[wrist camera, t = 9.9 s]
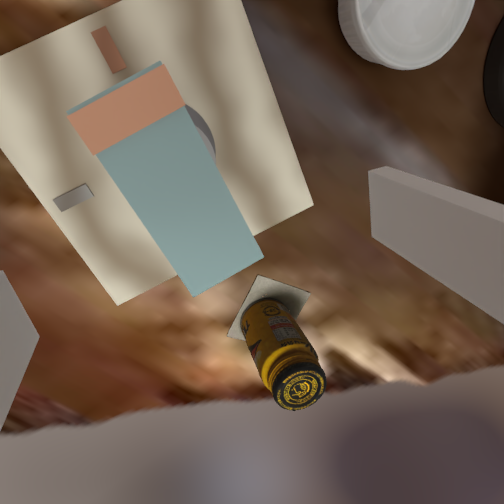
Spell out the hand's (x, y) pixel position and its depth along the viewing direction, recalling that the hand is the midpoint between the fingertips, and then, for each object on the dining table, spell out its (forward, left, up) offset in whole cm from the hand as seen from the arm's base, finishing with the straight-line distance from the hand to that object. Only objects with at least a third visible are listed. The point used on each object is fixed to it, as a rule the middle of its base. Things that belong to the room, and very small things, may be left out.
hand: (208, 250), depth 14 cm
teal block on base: (0, 0, -21) cm, 21 cm away
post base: (0, 0, -24) cm, 24 cm away
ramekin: (-24, -3, -24) cm, 34 cm away
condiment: (-2, +22, -24) cm, 33 cm away
